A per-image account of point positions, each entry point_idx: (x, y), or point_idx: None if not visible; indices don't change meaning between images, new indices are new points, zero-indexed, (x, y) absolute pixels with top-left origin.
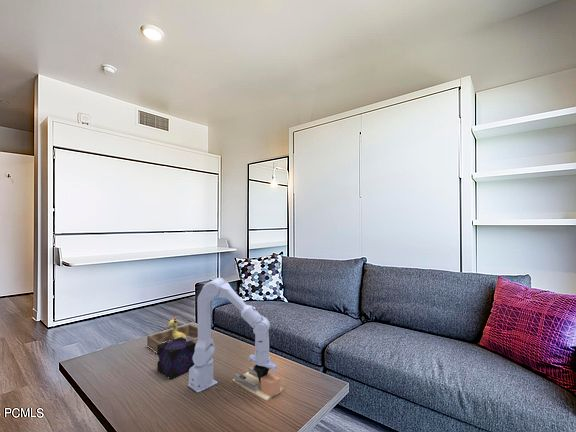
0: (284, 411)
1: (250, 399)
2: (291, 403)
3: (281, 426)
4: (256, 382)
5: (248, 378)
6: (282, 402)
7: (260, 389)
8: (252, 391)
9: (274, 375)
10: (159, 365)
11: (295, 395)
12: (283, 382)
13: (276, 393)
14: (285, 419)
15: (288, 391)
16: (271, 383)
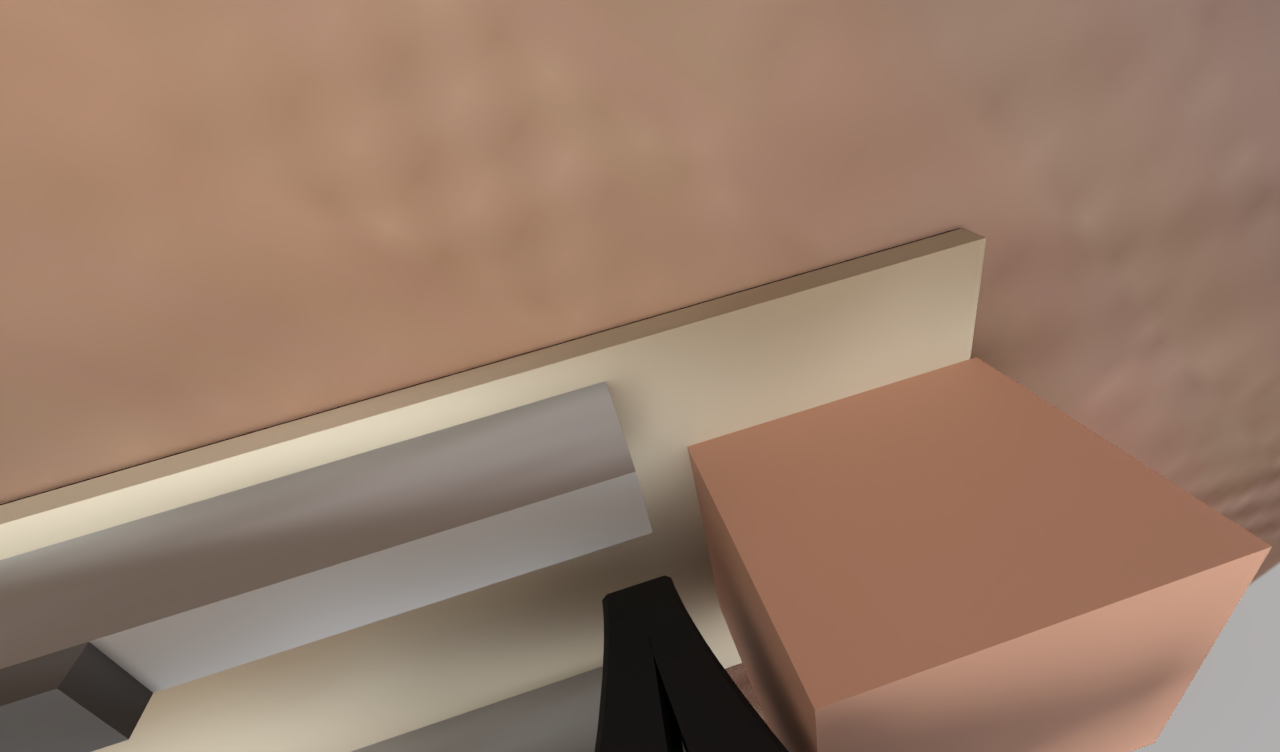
0: (1217, 473)
1: (754, 700)
2: (1246, 332)
3: (1267, 565)
4: (426, 611)
5: (178, 698)
6: (1119, 425)
7: (688, 603)
8: None
9: (1037, 631)
10: None
11: (1239, 146)
12: (730, 49)
13: None
14: (1272, 509)
15: (1061, 187)
16: (1152, 732)
